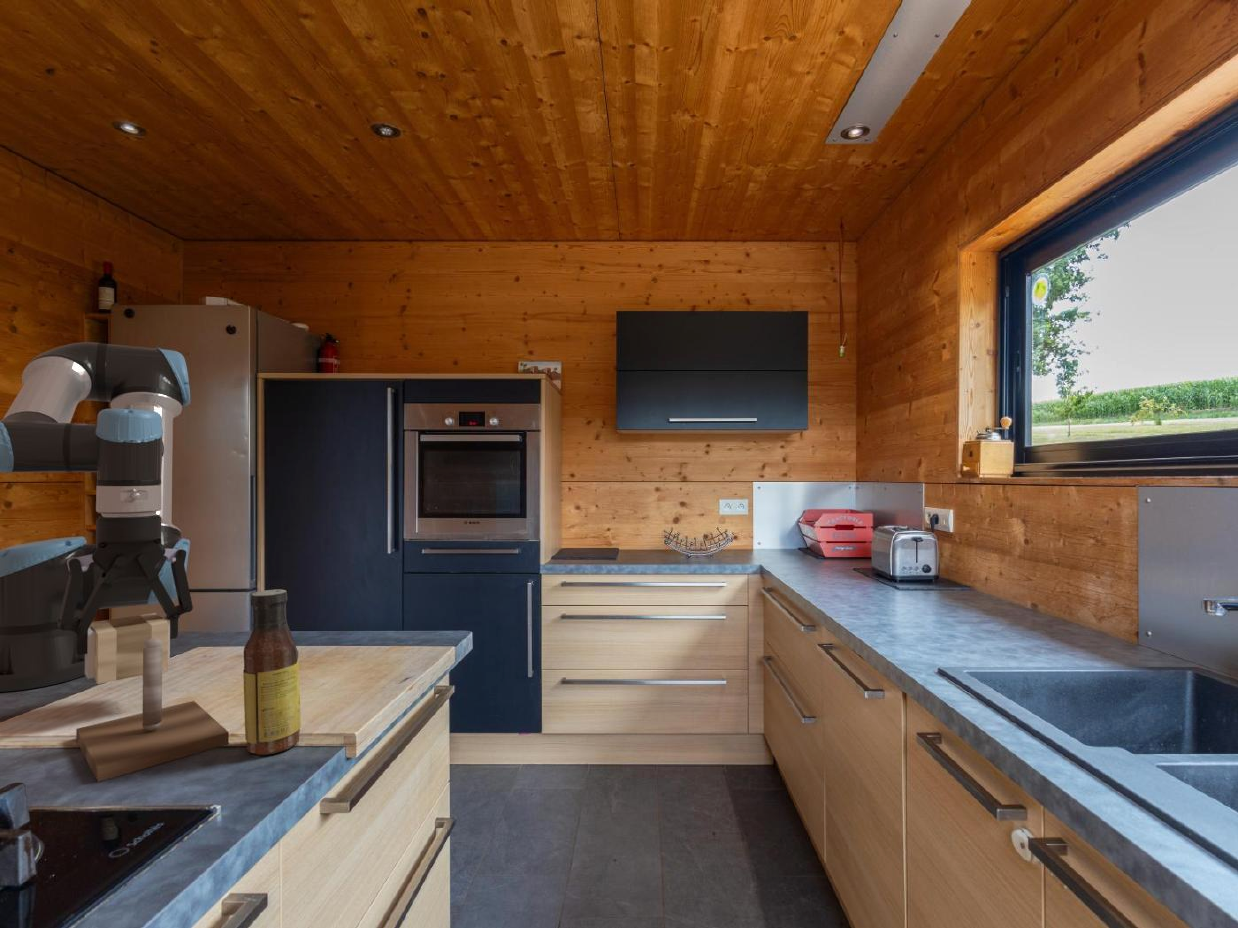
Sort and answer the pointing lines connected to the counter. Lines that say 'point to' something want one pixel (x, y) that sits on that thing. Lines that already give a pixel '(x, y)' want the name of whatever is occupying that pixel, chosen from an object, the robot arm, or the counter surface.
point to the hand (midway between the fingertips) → (128, 667)
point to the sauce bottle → (271, 678)
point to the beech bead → (126, 645)
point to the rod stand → (149, 729)
